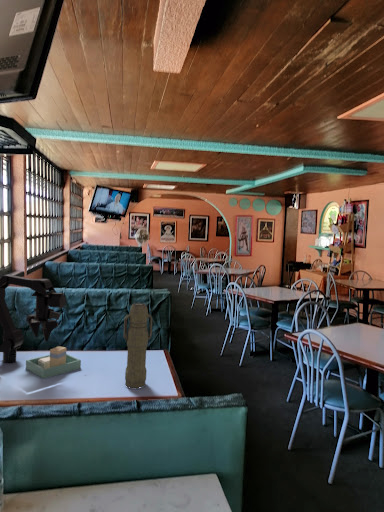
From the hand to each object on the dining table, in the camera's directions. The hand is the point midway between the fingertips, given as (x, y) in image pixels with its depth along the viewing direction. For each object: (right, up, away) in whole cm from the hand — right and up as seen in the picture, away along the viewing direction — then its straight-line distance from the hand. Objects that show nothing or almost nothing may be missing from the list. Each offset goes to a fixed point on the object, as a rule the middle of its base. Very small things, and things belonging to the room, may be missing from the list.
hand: (41, 339), depth 169 cm
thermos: (+46, -17, -14) cm, 51 cm away
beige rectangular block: (+4, -12, 0) cm, 13 cm away
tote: (+7, -14, -3) cm, 15 cm away
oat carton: (+10, -13, -5) cm, 17 cm away
